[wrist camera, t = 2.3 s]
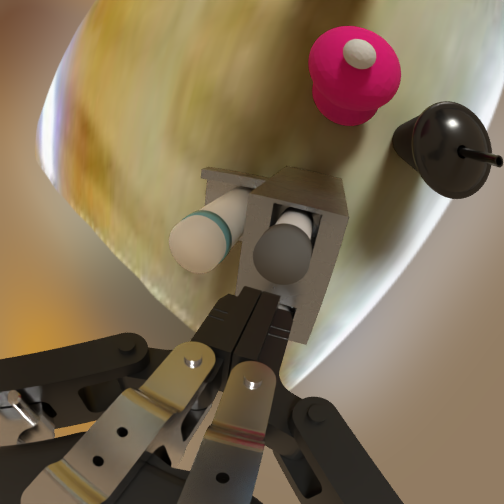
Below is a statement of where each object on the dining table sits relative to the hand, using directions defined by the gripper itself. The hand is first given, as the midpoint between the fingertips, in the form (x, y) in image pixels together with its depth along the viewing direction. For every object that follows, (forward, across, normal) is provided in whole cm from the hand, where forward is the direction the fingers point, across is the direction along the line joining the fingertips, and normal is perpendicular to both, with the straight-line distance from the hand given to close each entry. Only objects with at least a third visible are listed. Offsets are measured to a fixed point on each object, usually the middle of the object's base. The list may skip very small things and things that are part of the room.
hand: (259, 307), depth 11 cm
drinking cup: (+25, -11, -9) cm, 29 cm away
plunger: (+11, 0, 0) cm, 11 cm away
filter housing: (+25, +5, +4) cm, 26 cm away
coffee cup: (+24, +8, +4) cm, 26 cm away
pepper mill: (+25, -2, -12) cm, 28 cm away
